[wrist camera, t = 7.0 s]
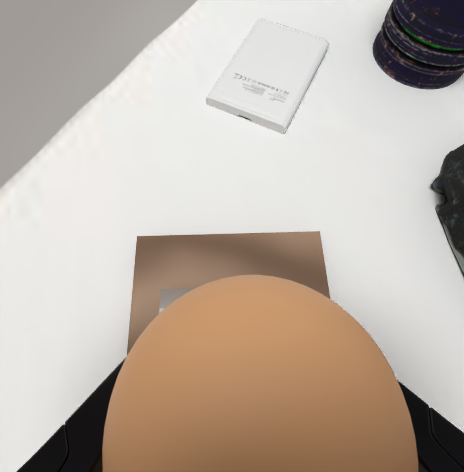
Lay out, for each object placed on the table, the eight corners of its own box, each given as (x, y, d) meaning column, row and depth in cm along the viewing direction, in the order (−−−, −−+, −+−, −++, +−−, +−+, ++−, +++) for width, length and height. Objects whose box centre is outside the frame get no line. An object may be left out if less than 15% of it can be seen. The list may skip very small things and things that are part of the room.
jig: (358, 523, 17) (389, 566, 14) (117, 537, 16) (90, 584, 13) (315, 236, 23) (330, 218, 20) (140, 240, 23) (126, 224, 19)
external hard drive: (325, 55, 31) (283, 138, 27) (256, 32, 32) (206, 108, 28) (330, 40, 30) (286, 126, 26) (258, 16, 31) (205, 94, 27)
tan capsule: (299, 388, 15) (662, 605, 2) (216, 442, 14) (133, 1214, 2) (252, 303, 16) (332, 177, 4) (174, 348, 15) (-38, 362, 3)
